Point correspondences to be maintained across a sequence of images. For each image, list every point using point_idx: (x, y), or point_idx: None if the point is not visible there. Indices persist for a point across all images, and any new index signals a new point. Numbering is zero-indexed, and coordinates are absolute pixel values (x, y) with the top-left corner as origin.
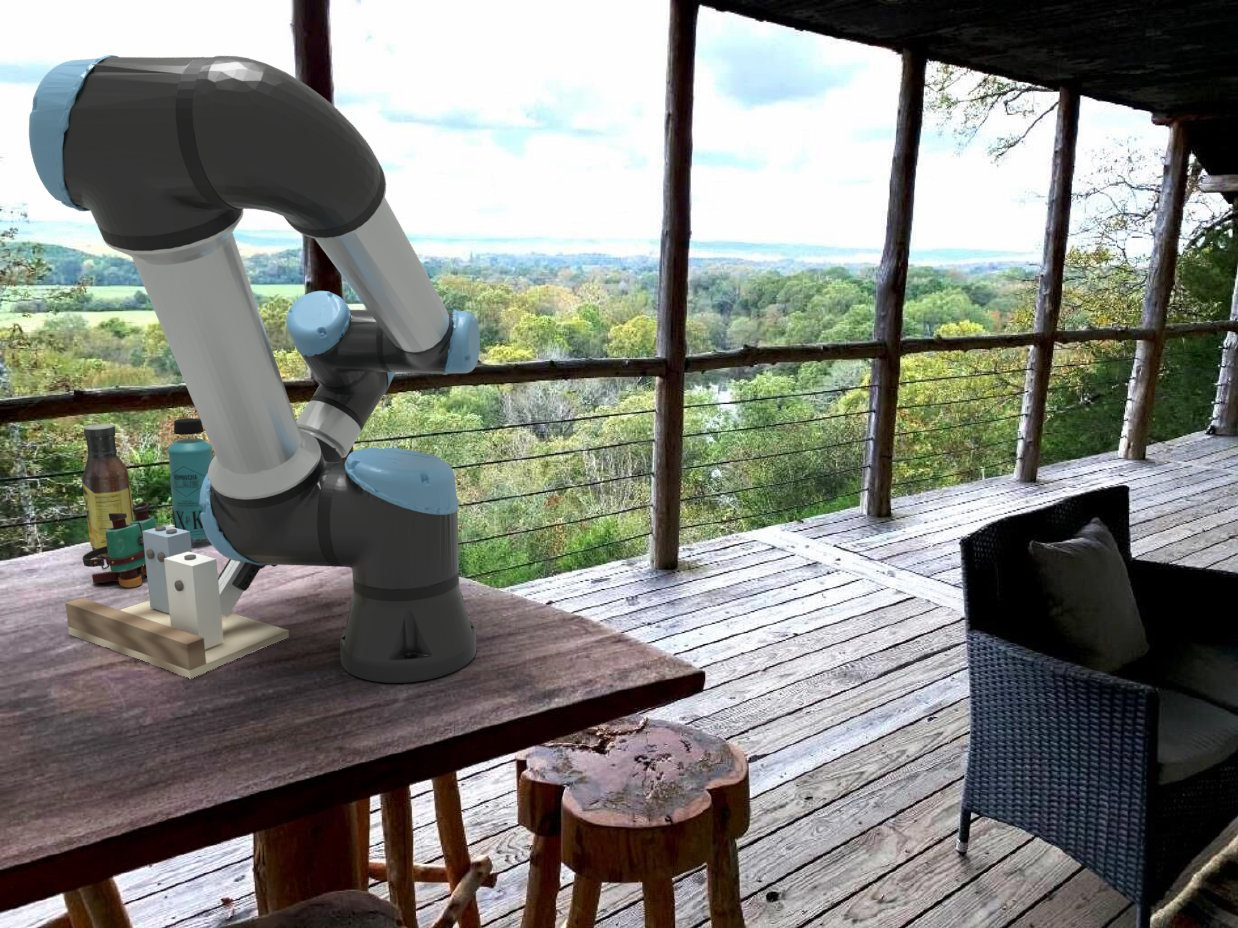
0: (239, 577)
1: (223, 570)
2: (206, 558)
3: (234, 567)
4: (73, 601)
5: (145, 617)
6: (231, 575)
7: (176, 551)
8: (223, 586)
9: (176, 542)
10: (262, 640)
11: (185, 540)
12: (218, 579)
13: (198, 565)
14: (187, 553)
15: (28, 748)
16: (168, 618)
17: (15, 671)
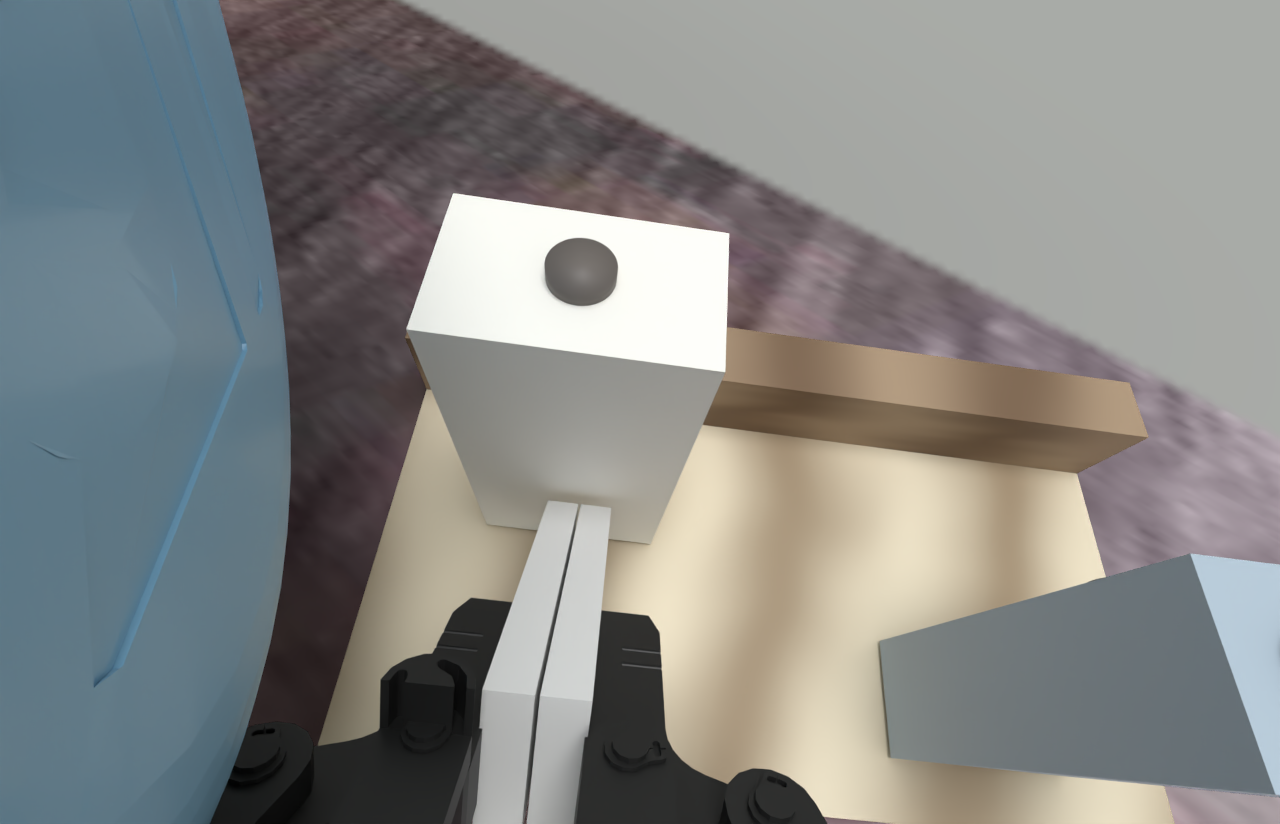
0: (479, 632)
1: (650, 659)
2: (482, 313)
3: (524, 635)
4: (1124, 400)
5: (960, 585)
6: (517, 597)
7: (1099, 641)
8: (538, 554)
9: (1160, 641)
10: (359, 615)
11: (1183, 729)
12: (642, 616)
13: (443, 228)
14: (688, 338)
15: (523, 82)
16: (883, 618)
17: (888, 250)
